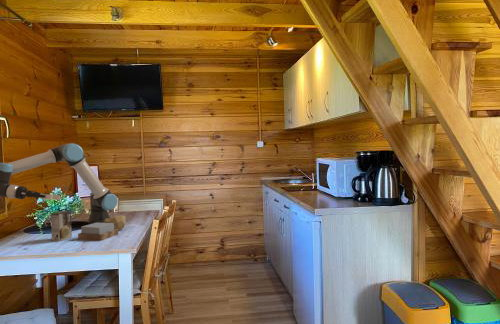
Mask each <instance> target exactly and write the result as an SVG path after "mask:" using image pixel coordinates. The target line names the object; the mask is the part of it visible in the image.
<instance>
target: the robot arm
mask: <svg viewBox="0 0 500 324" xmlns="http://www.w3.org/2000/svg"><path fill="white" fill-rule="evenodd" d="M60 162H65V163H66V164H67V165H68V166H69V168H73V169H74V171H76V173H77V174H78V176H79V177H80V179H82V181H83V182H84V184H85V186H87V188H88V190H89V191H90V193H89V200H90V202H89V203H90V205H89V206H90V207H89V208H90V214H89V217H88V220H87V221H88V222H87V223H88V224H93V223H104V221H105V219H106V218H111V217H110V214H109V211H112V210H114V209H115V208H117V206H118V202H119V201H118V199H119V198H118V196H116V195H115V194H114V193H112V192H111V190H110V189H109V188H107V187H105V186H104V185H103V183H102V181H101V180H100V179H99V178H98V176H97V175H96V173H95V172H94V170H93V169H92V168H91V167H90V165H89V164H88V162H87V161H86V156H85V154H84V150H83V148H82V147H81V146H80V145H79V144H76V143H71V142H70V143H64V144H61V145H58V146H55V147H54V148H53V147H52V148H50V149H48V150H47V151H45V152H42V153H38V154H35V155H32V156H28V157H24V158H21V159H17V160H15V161H11V162H8V163H6V162H0V197H4V198H9V199H10V200H11V199H18V200H25V198H35V199H36V200H39V199H43V200H49V201H50V200H51V201H52V200H55V201H60V199H61V195H58V194H51V193H50V192H48V193H42V192H38V191H33V190H28V187H27V186H23V185H17V184H10V180H11V177H12V175H16V174H18V173H21V172H24V171H28V170H32V169H34V168H38V167H41V166H44V165H47V164H48V165H49V164H51V163H54V164H55V163H60Z"/></svg>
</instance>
